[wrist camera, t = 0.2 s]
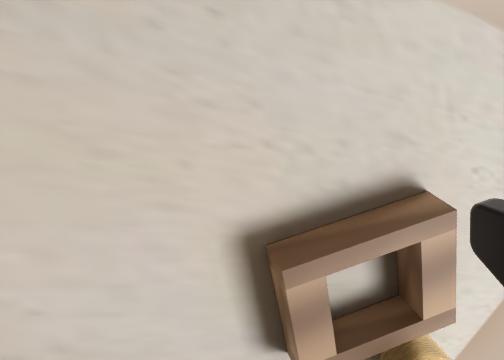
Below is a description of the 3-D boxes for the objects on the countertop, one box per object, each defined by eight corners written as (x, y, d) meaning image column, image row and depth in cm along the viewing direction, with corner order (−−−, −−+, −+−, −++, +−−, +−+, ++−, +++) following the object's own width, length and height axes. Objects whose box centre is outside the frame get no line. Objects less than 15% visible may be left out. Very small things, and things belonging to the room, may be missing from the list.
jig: (429, 297, 31) (455, 322, 29) (287, 352, 29) (303, 383, 27) (427, 191, 27) (456, 209, 25) (265, 245, 25) (281, 271, 23)
